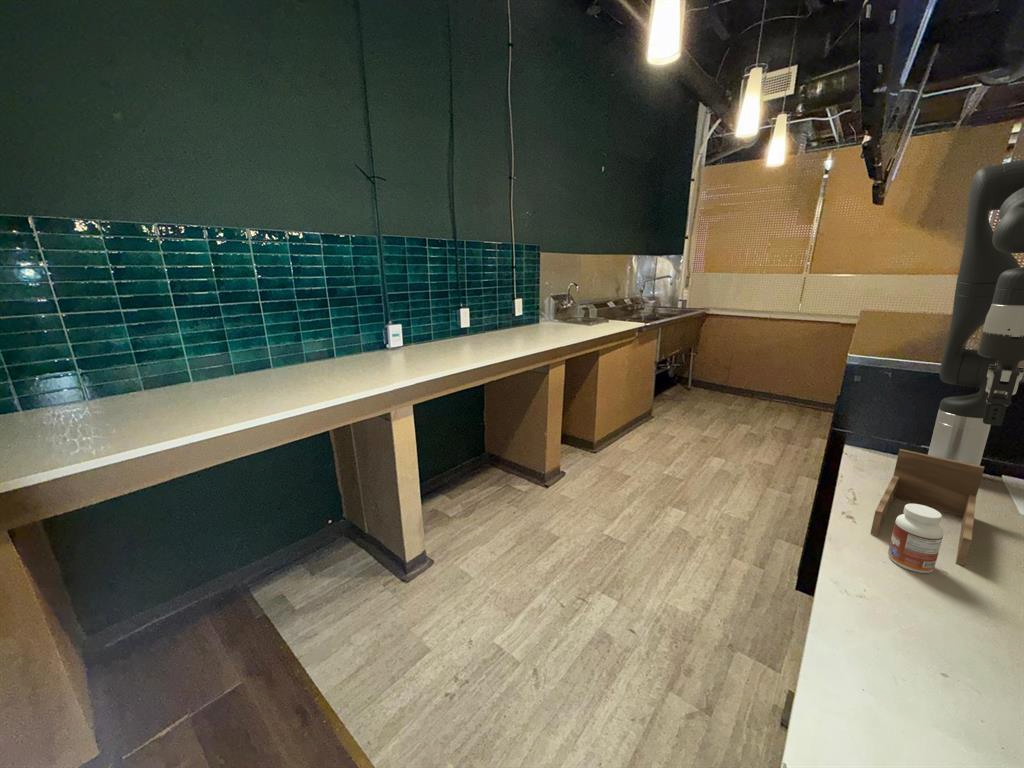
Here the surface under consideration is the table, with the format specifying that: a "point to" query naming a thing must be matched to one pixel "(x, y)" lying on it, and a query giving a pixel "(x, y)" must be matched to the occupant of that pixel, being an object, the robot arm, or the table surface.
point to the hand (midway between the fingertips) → (992, 417)
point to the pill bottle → (916, 538)
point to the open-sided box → (934, 490)
